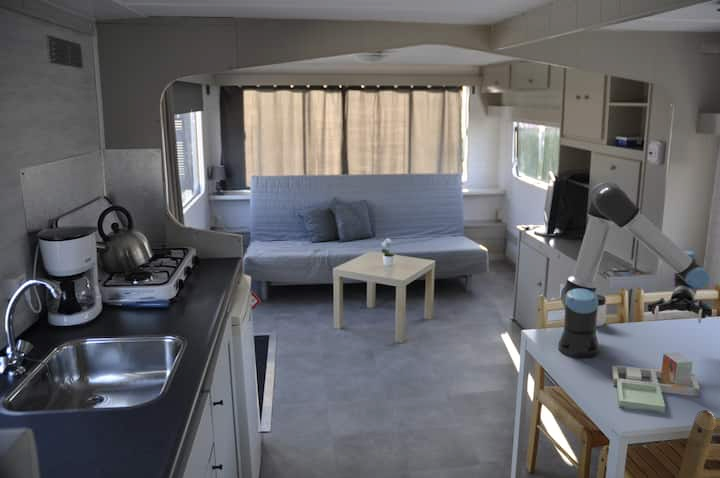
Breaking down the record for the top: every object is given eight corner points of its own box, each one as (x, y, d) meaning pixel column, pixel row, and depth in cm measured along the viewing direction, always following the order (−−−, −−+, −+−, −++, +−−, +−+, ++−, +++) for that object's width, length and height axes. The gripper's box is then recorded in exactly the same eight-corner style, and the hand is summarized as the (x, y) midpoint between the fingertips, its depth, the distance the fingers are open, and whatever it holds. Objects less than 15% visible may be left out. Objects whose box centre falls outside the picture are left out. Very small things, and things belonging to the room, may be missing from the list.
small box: (660, 381, 209) (662, 352, 206) (675, 380, 209) (678, 352, 207) (673, 392, 201) (676, 362, 199) (689, 391, 201) (693, 361, 199)
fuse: (626, 384, 207) (627, 375, 206) (625, 375, 213) (625, 366, 213) (641, 386, 205) (641, 377, 205) (639, 377, 212) (640, 368, 211)
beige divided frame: (613, 385, 206) (614, 378, 205) (612, 371, 217) (612, 364, 216) (699, 396, 197) (700, 388, 197) (693, 381, 208) (694, 373, 208)
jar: (595, 328, 258) (597, 301, 255) (579, 322, 265) (580, 296, 262) (608, 323, 263) (610, 297, 260) (592, 318, 269) (593, 292, 267)
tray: (619, 407, 192) (619, 400, 191) (616, 386, 205) (617, 380, 205) (664, 413, 187) (665, 406, 187) (659, 392, 201) (659, 385, 200)
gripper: (721, 311, 220) (718, 331, 203) (646, 305, 234) (637, 324, 216) (721, 291, 219) (719, 310, 201) (645, 286, 232) (637, 304, 215)
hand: (677, 317), depth 209 cm, fingers open, 13 cm apart
